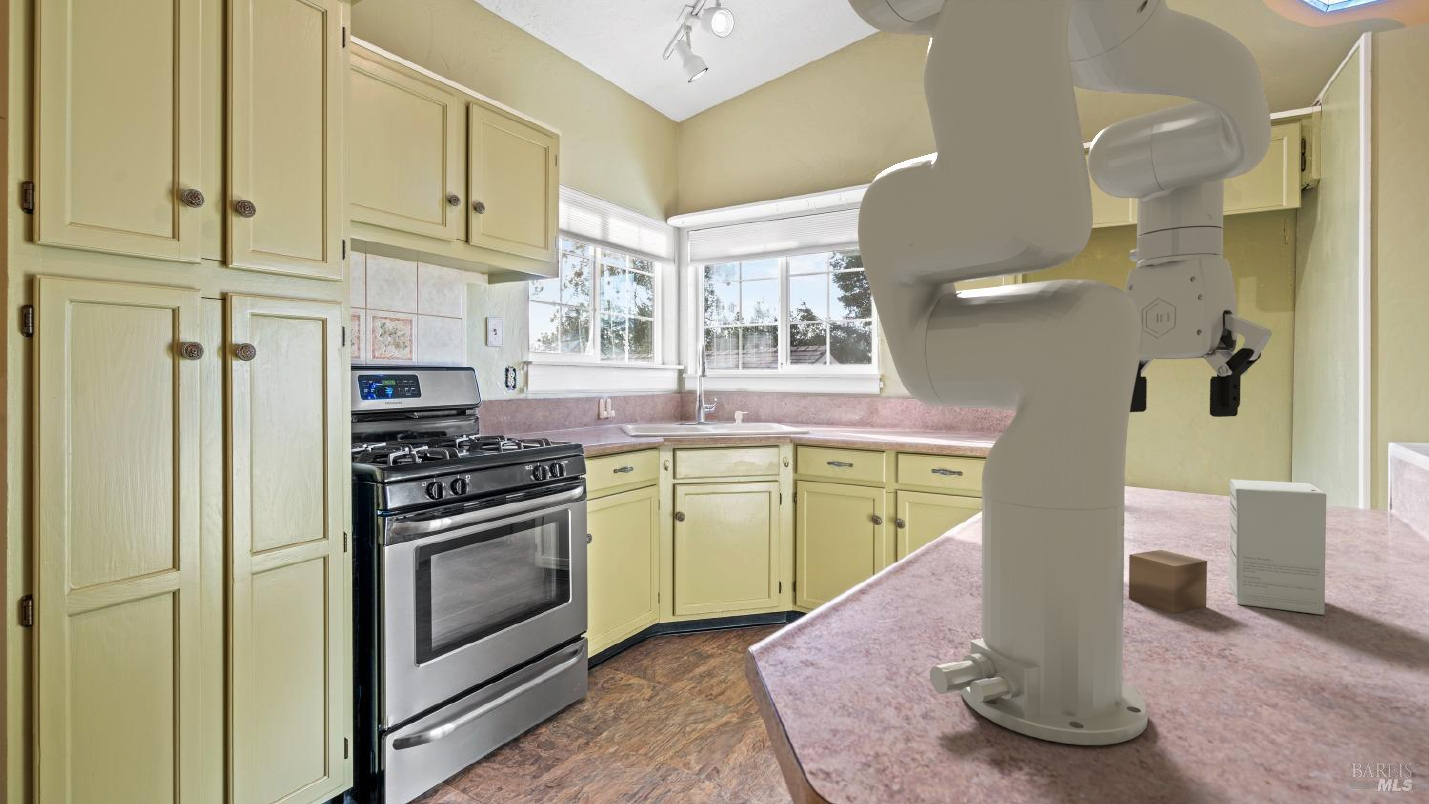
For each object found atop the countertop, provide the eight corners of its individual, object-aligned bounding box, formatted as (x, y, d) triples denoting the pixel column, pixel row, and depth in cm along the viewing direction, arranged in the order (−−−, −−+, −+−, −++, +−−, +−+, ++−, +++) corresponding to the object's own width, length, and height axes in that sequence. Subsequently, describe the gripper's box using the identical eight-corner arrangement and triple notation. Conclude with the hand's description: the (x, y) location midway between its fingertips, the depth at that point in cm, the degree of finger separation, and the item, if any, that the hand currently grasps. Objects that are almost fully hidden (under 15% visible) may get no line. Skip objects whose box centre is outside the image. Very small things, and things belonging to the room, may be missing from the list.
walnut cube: (1173, 614, 70) (1174, 566, 70) (1128, 599, 75) (1129, 554, 75) (1206, 607, 72) (1207, 560, 72) (1160, 593, 77) (1160, 549, 77)
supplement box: (1310, 596, 75) (1313, 482, 74) (1325, 617, 69) (1328, 492, 68) (1227, 586, 79) (1228, 477, 78) (1233, 604, 73) (1236, 486, 72)
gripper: (1081, 263, 79) (1080, 411, 79) (1243, 233, 63) (1239, 419, 63) (1128, 266, 81) (1126, 409, 82) (1295, 238, 65) (1291, 417, 66)
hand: (1175, 413), depth 73 cm, fingers open, 9 cm apart
